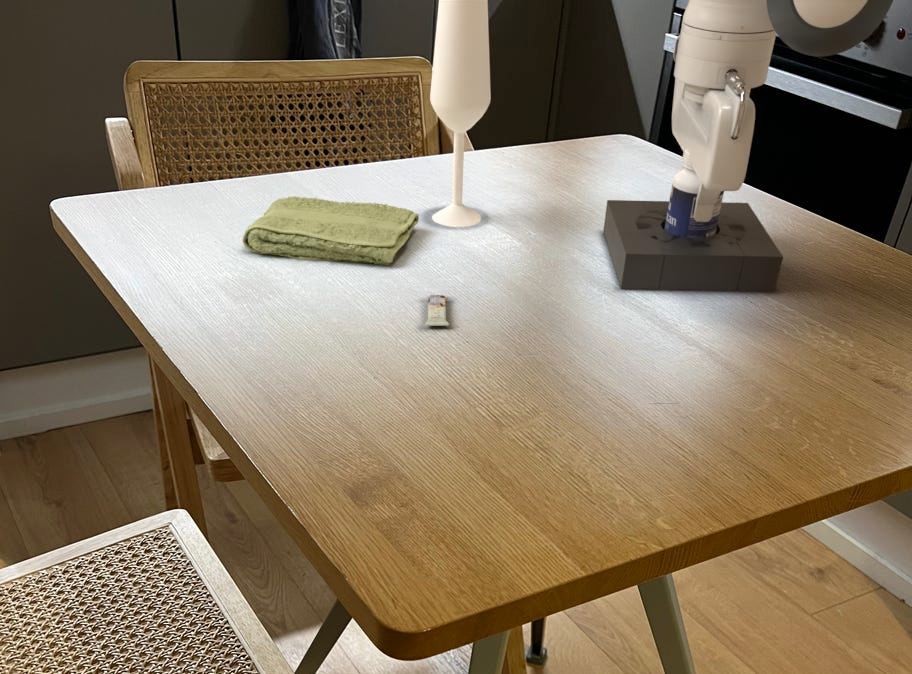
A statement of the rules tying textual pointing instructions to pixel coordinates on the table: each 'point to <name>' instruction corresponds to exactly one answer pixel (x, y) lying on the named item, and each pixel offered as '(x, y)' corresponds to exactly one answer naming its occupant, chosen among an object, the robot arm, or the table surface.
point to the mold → (689, 251)
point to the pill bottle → (688, 205)
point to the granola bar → (437, 310)
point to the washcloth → (331, 230)
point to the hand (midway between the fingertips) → (694, 207)
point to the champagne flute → (460, 87)
